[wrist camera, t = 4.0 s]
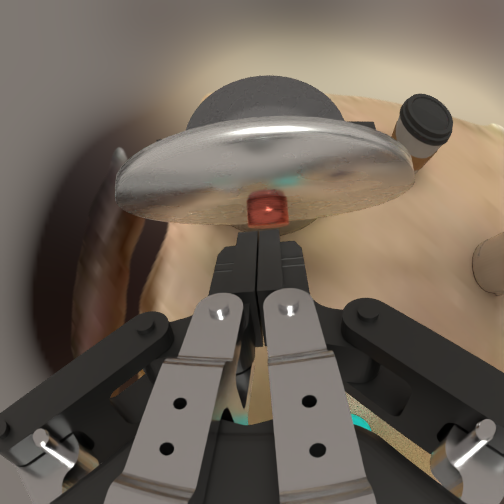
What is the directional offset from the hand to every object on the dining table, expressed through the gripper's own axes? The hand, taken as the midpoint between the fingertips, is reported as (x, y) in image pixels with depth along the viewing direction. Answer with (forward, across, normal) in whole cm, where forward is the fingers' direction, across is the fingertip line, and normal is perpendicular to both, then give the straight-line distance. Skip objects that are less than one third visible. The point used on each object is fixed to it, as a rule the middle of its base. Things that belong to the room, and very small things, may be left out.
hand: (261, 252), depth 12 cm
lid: (+14, 0, +2) cm, 14 cm away
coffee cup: (+40, -23, +9) cm, 47 cm away
